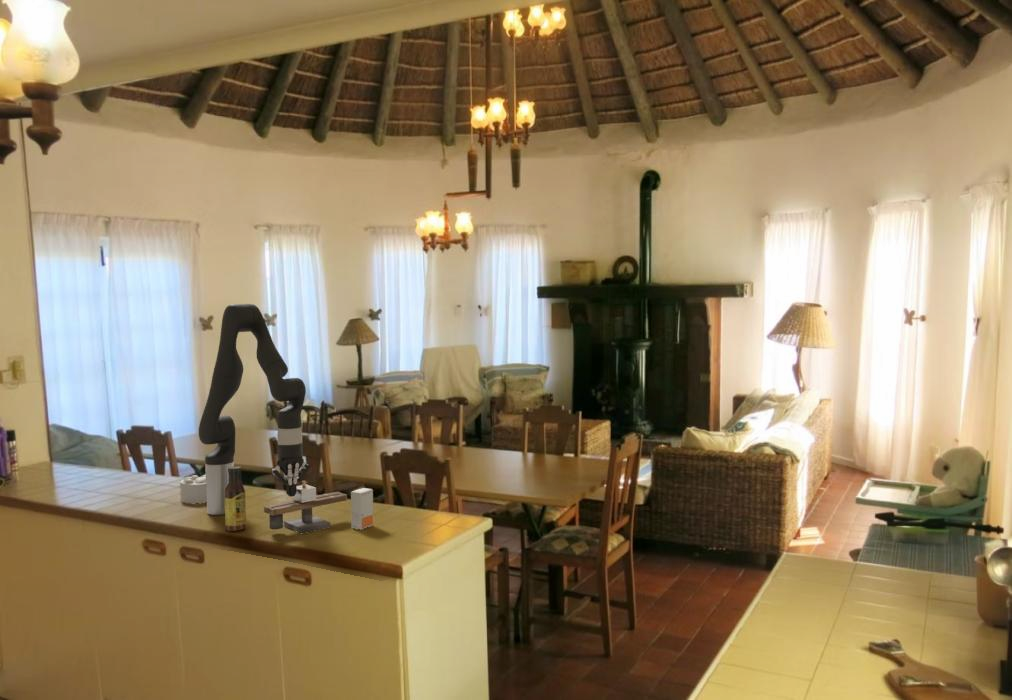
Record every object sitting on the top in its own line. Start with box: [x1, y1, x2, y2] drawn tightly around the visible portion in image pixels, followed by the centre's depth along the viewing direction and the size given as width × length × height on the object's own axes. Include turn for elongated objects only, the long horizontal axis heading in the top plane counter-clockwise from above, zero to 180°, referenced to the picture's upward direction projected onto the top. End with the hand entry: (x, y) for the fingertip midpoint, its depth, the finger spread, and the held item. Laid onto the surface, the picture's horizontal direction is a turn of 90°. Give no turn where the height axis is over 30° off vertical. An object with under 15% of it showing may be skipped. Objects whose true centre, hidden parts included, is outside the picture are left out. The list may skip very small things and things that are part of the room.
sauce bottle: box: [224, 466, 247, 532], centre depth 242 cm, size 6×6×20 cm
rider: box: [291, 480, 317, 503], centre depth 243 cm, size 6×5×8 cm
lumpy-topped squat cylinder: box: [179, 474, 207, 504], centre depth 280 cm, size 10×13×9 cm
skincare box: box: [350, 487, 374, 531], centre depth 242 cm, size 6×4×12 cm
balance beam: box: [263, 491, 348, 535], centre depth 244 cm, size 12×26×9 cm, turn 133°
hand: (291, 495), depth 240 cm, fingers closed
